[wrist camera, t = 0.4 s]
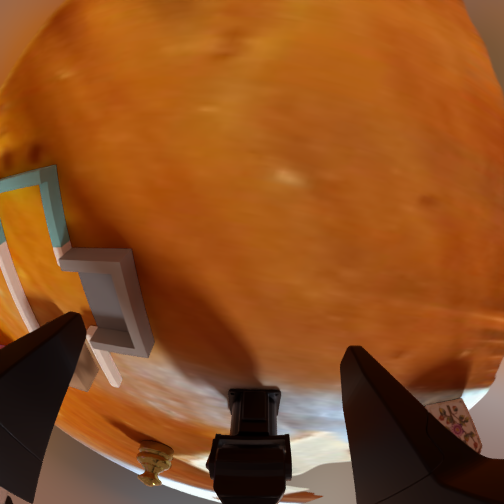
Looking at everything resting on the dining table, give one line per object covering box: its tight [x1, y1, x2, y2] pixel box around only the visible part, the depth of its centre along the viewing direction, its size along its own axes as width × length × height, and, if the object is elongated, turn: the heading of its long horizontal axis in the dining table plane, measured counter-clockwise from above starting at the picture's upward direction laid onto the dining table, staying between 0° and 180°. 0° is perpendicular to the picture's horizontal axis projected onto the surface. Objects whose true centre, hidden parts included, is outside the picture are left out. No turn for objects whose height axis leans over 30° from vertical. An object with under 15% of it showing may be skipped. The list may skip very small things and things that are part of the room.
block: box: [46, 322, 99, 392], centre depth 28 cm, size 8×6×4 cm
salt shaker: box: [136, 440, 174, 487], centre depth 39 cm, size 7×7×10 cm
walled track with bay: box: [0, 165, 155, 388], centre depth 24 cm, size 29×21×2 cm
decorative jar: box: [425, 398, 482, 454], centre depth 30 cm, size 12×12×18 cm
